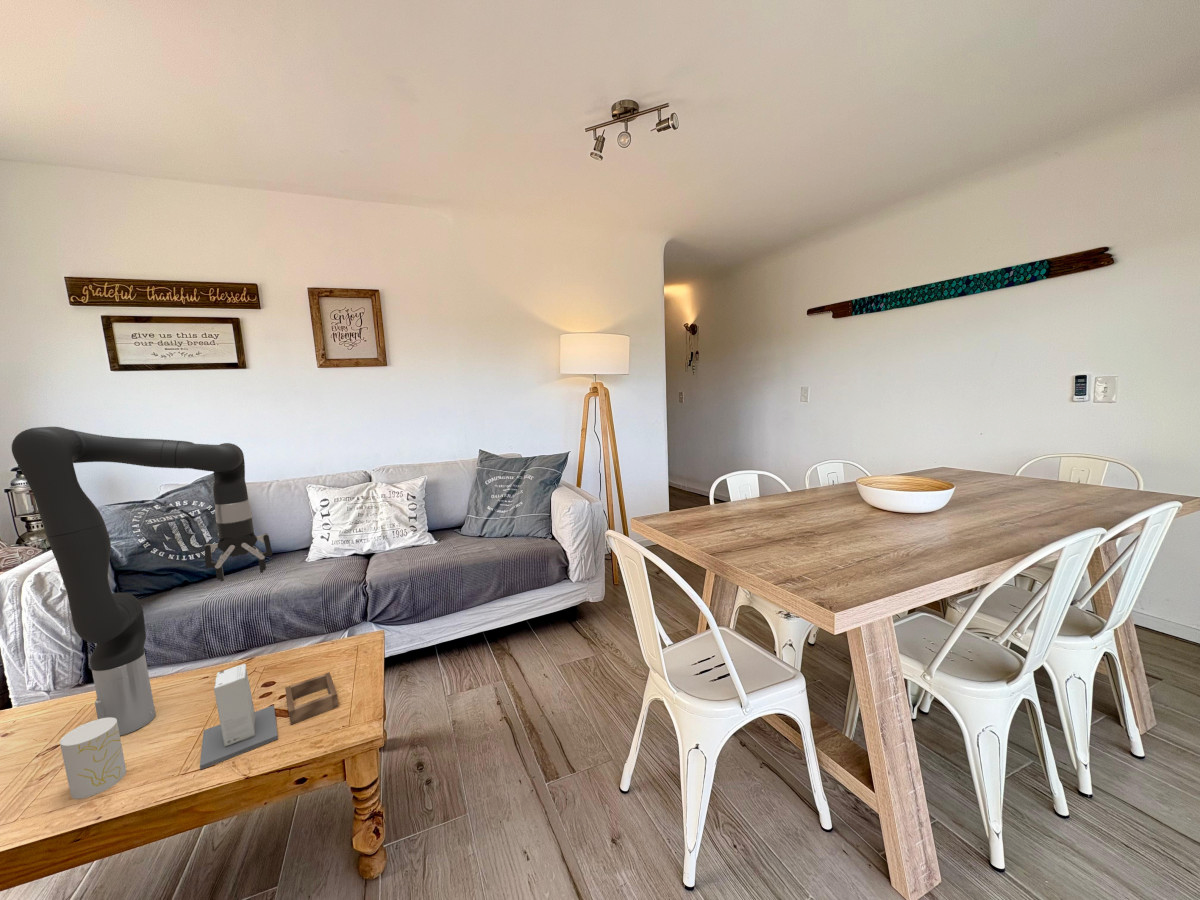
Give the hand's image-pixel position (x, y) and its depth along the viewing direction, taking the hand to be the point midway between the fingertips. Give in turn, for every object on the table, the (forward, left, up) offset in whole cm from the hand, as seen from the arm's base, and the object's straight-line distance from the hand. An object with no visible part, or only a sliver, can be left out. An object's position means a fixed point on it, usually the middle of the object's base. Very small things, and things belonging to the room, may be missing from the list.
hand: (242, 576), depth 127 cm
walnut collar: (+11, -19, -32) cm, 39 cm away
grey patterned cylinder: (-28, -19, -32) cm, 47 cm away
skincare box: (-4, -22, -31) cm, 38 cm away
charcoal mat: (-4, -22, -32) cm, 39 cm away
